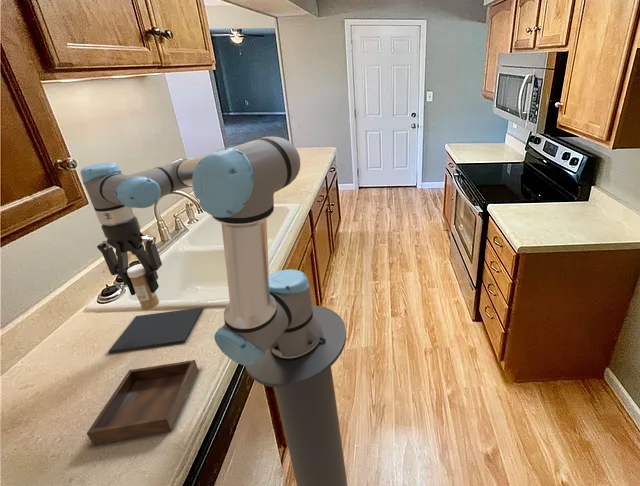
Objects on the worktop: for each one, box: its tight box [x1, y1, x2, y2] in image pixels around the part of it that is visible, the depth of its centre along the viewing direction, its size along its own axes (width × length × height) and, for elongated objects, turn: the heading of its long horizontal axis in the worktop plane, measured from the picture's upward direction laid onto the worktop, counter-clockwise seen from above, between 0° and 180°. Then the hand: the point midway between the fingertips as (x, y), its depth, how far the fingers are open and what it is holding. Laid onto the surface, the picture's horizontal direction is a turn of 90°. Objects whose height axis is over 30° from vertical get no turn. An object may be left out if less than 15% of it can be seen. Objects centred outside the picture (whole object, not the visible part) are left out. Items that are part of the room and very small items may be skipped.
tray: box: [86, 359, 199, 446], centre depth 79 cm, size 16×16×4 cm
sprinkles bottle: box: [127, 263, 160, 311], centre depth 96 cm, size 5×5×14 cm
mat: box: [108, 307, 204, 354], centre depth 102 cm, size 20×14×1 cm
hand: (145, 290), depth 96 cm, fingers closed on sprinkles bottle, 5 cm apart
